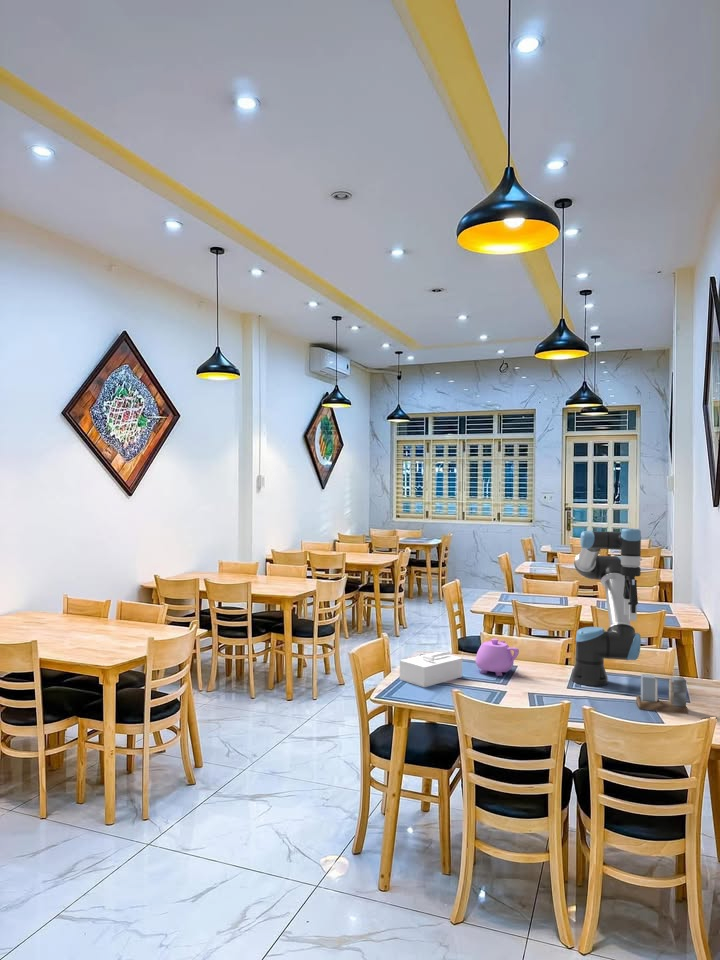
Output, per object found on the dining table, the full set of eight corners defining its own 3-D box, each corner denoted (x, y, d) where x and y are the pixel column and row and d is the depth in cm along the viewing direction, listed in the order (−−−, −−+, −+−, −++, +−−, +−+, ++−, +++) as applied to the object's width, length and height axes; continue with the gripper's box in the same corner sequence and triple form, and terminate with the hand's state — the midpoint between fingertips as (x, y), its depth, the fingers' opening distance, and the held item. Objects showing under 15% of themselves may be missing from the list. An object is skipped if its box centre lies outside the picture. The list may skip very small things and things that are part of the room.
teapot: (527, 670, 302) (527, 637, 302) (512, 680, 285) (513, 645, 285) (486, 663, 312) (487, 632, 313) (470, 672, 295) (471, 639, 296)
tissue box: (399, 680, 283) (400, 655, 283) (437, 670, 300) (438, 646, 300) (424, 688, 272) (424, 661, 272) (462, 677, 289) (462, 652, 289)
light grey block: (642, 703, 250) (642, 677, 250) (640, 699, 254) (640, 674, 255) (657, 704, 249) (657, 678, 249) (654, 700, 253) (655, 675, 253)
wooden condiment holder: (639, 709, 249) (639, 677, 249) (636, 703, 256) (636, 672, 256) (687, 713, 245) (688, 681, 245) (683, 707, 252) (683, 676, 252)
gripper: (646, 569, 254) (645, 624, 254) (635, 563, 279) (634, 612, 278) (625, 569, 256) (625, 622, 256) (616, 562, 280) (616, 611, 280)
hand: (630, 617), depth 267 cm, fingers open, 13 cm apart
